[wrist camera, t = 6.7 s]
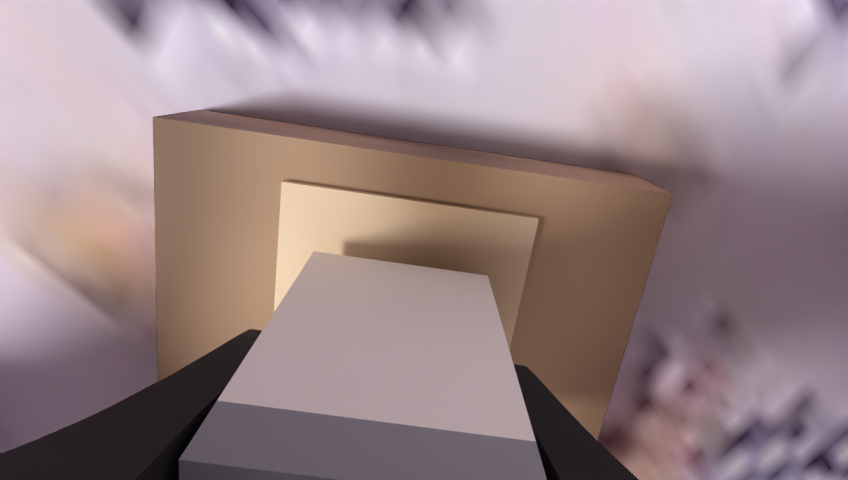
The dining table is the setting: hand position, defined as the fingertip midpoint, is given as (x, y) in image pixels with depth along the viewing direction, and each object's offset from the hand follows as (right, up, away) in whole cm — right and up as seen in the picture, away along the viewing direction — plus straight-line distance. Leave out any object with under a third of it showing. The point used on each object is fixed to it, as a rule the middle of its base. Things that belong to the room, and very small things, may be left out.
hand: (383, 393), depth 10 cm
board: (-1, -3, +7) cm, 8 cm away
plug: (0, +1, +3) cm, 3 cm away
